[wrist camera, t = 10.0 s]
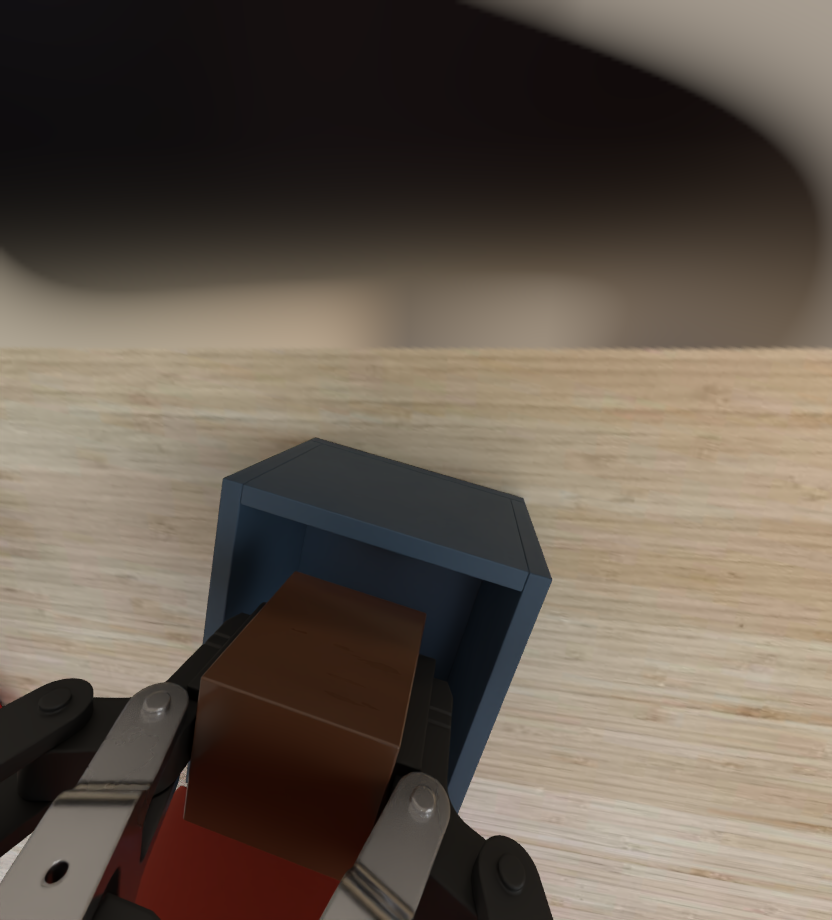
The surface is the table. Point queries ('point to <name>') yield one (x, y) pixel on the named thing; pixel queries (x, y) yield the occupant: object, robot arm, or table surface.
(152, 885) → the lunchbox lid
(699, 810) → the table surface
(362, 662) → the block
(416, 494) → the box
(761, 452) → the table surface
